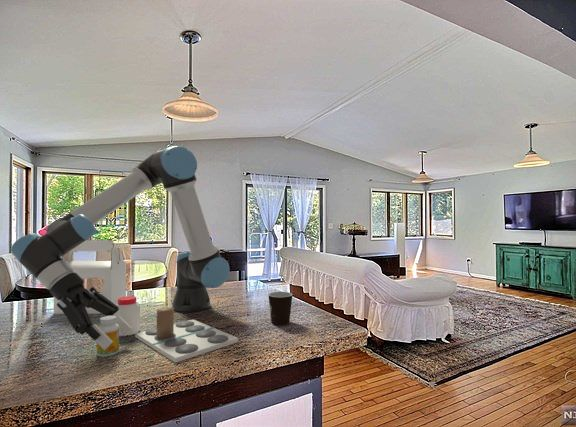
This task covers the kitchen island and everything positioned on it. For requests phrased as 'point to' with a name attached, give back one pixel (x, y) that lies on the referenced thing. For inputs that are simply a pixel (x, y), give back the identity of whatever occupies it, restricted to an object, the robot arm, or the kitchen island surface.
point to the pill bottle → (129, 313)
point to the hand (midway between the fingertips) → (119, 338)
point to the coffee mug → (280, 307)
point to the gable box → (99, 270)
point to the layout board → (183, 337)
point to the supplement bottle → (112, 332)
